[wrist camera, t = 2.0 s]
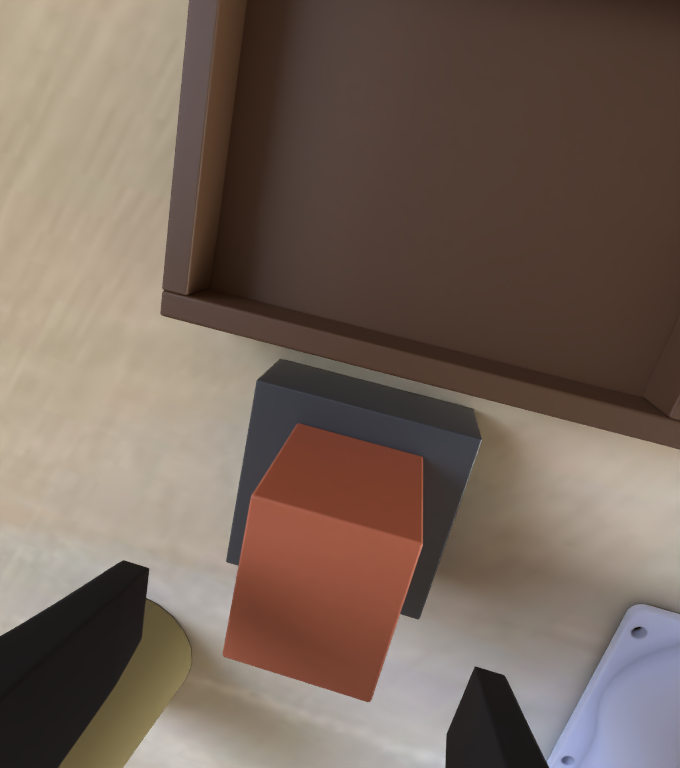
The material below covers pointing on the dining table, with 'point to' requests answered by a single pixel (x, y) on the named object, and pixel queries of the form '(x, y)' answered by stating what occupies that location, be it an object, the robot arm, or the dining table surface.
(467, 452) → the base block
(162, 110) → the dining table surface
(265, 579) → the terracotta block
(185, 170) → the tray
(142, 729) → the olive pawn
